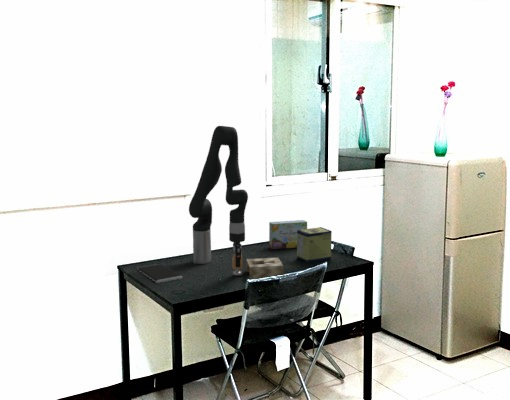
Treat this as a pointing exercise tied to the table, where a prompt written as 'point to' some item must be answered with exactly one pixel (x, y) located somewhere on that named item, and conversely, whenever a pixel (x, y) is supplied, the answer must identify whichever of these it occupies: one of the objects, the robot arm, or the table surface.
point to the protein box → (314, 244)
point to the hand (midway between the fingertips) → (237, 265)
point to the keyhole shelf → (264, 267)
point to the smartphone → (159, 273)
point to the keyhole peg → (237, 272)
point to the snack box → (285, 233)
